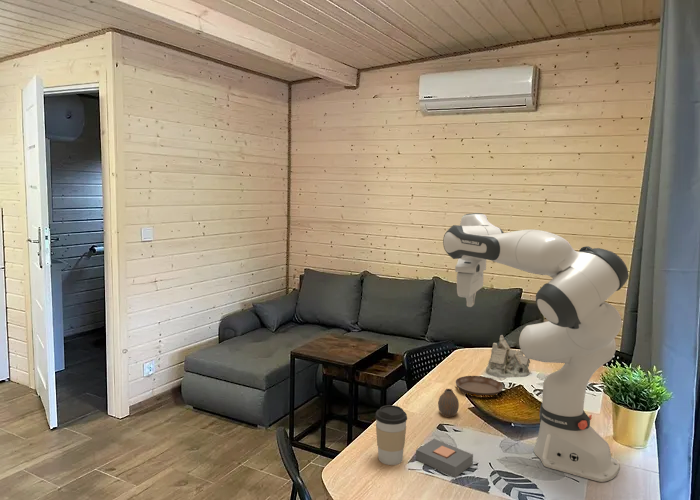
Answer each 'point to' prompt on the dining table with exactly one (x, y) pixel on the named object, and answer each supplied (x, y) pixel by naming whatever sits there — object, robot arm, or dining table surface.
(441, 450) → the button
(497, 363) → the ceramic cottage
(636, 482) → the dining table surface
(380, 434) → the coffee cup
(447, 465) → the block
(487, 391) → the plant saucer
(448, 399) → the vase
